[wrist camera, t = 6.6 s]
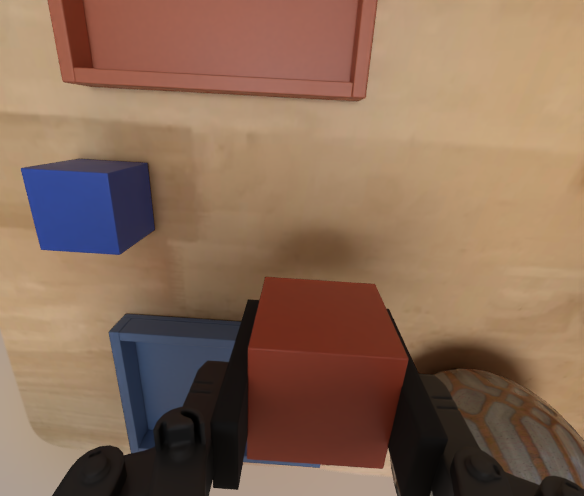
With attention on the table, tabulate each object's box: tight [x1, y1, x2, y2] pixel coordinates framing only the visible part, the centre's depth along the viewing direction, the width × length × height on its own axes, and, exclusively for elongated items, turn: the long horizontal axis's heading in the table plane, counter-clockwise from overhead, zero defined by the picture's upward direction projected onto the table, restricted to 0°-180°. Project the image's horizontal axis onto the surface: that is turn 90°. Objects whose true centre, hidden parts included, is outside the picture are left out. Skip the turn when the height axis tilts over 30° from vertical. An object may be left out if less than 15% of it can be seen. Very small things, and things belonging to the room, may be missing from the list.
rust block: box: [247, 277, 409, 469], centre depth 13 cm, size 5×5×5 cm
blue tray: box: [109, 314, 320, 468], centre depth 29 cm, size 18×14×3 cm
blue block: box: [21, 159, 155, 255], centre depth 21 cm, size 5×5×5 cm
